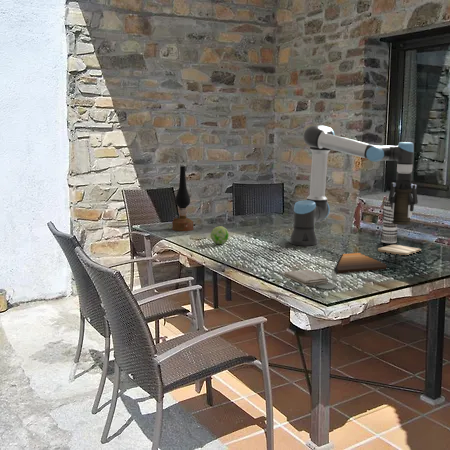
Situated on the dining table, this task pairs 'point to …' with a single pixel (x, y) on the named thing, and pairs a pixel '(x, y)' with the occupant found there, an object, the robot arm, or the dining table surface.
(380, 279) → the dining table surface
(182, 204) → the oil lamp
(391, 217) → the decorative candle
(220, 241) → the decorative ball
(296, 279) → the washcloth
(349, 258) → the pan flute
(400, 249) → the oak board
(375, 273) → the dining table surface
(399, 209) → the container
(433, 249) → the dining table surface
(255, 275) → the dining table surface
